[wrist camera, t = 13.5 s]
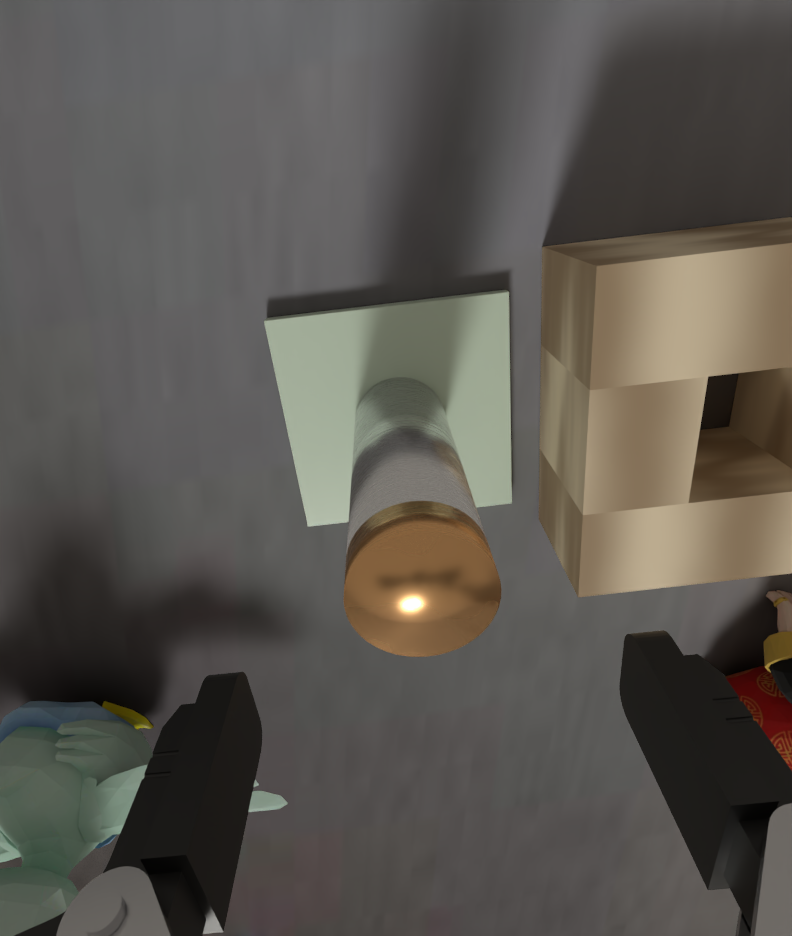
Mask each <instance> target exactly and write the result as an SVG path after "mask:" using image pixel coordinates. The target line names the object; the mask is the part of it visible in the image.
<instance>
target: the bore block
mask: <svg viewBox="0 0 792 936" xmlns="http://www.w3.org/2000/svg"><path fill="white" fill-rule="evenodd" d="M735 373H739V375H738V380H737V386H736V391H735V397H734V402H733V408H732V413H731V418H730V424H729V427H721V428H712V429H704V430H700V426H701V420H702V413H703V407H704V400H705V394H706V388H707V381H708V377H709V376H718V375H726V374H735ZM539 520H540V522H541V524H542V526H543V528H544V530H545V532H546V534H547V536H548V538H549V540H550V542H551V544H552V546H553V548H554V550H555V552H556V554H557V556H558V558H559V560H560V562H561V564H562V566H563V568H564V570H565V572H566V574H567V576H568V578H569V580H570V582H571V584H572V586H573V588H574V590H575V592H576V594H577V596H578V597H585V596H594V595H603V594H612V593H621V592H630V591H639V590H648V589H657V588H665V587H674V586H683V585H692V584H701V583H710V582H719V581H728V580H737V579H746V578H755V577H764V576H773V575H782V574H791V573H792V217H787V218H778V219H770V220H761V221H753V222H745V223H736V224H728V225H720V226H711V227H703V228H694V229H686V230H678V231H669V232H661V233H653V234H644V235H636V236H627V237H619V238H611V239H602V240H594V241H585V242H577V243H569V244H560V245H552V246H544V247H542V309H541V387H540V465H539Z"/></svg>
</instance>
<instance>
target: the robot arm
mask: <svg viewBox="0 0 792 936" xmlns="http://www.w3.org/2000/svg"><path fill="white" fill-rule="evenodd" d="M620 696H621V702H622V706H623V709H624V712H625V715H626V717H627V719H628V722H629V724H630V726H631V728H632V730H633V732H634V734H635V736H636V739H637V741H638V743H639V745H640V747H641V749H642V751H643V753H644V756H645V758H646V760H647V762H648V764H649V766H650V768H651V770H652V772H653V775H654V777H655V779H656V781H657V783H658V785H659V787H660V789H661V792H662V794H663V796H664V798H665V800H666V802H667V804H668V806H669V808H670V811H671V813H672V815H673V817H674V819H675V821H676V823H677V825H678V828H679V830H680V832H681V834H682V836H683V838H684V840H685V842H686V845H687V847H688V849H689V851H690V853H691V855H692V857H693V859H694V861H695V864H696V866H697V868H698V870H699V872H700V874H701V876H702V878H703V881H704V883H705V885H706V887H707V889H708V890H715V889H726V888H730V889H731V891H732V893H733V895H734V897H735V899H736V901H737V903H738V905H739V907H740V912H739V916H738V922H737V929H736V936H792V770H791V769H790V767H789V766H788V765H787V763H786V762H785V760H784V759H783V758H782V756H781V755H780V753H779V752H778V751H777V749H776V748H775V746H774V745H773V744H772V742H771V741H770V739H769V738H768V737H767V735H766V734H765V732H764V731H763V730H762V728H761V727H760V725H759V724H758V723H757V721H754V720H753V716H752V714H751V713H750V711H749V710H748V709H747V707H746V706H745V704H744V703H743V702H742V701H740V700H739V696H738V695H737V693H736V692H735V690H734V689H733V688H732V686H731V685H730V683H729V682H728V681H727V679H726V678H725V676H724V675H723V674H722V673H721V672H720V671H719V670H717V669H716V668H715V667H714V666H712V665H711V664H710V663H708V662H707V661H706V660H704V659H703V658H702V657H701V656H699V655H698V654H695V655H685V656H683V654H682V652H681V651H680V649H679V648H678V646H677V645H676V643H675V642H674V640H673V639H672V637H671V636H670V635H669V634H668V633H667V632H666V631H664V630H663V631H653V632H643V633H633V634H627V635H626V636H625V640H624V648H623V658H622V667H621V677H620ZM261 746H262V727H261V721H260V717H259V714H258V711H257V708H256V705H255V701H254V698H253V695H252V692H251V689H250V686H249V683H248V679H247V677H246V675H245V673H244V672H238V673H228V674H218V675H208V676H207V677H206V678H205V679H204V681H203V683H202V686H201V689H200V691H199V694H198V697H197V700H196V703H195V704H185V705H181V706H180V707H179V708H178V709H177V711H176V712H175V713H174V714H173V716H172V717H171V718H170V719H169V720H168V722H167V723H166V724H165V725H164V727H163V728H162V731H161V733H160V736H159V738H158V741H157V743H156V746H155V748H154V751H153V757H152V758H150V761H149V763H148V766H147V768H146V771H145V773H144V779H142V781H141V783H140V786H139V788H138V791H137V793H136V796H135V798H134V801H133V803H132V806H131V808H130V811H129V813H128V816H127V818H126V821H125V823H124V826H123V828H122V831H121V833H120V836H119V838H118V841H117V843H116V846H115V848H114V851H113V853H112V856H111V858H110V860H109V862H108V865H107V867H106V869H105V870H104V872H103V874H101V875H100V876H98V877H96V878H95V879H93V880H92V881H91V882H90V883H88V884H87V885H86V886H85V887H84V888H83V889H82V890H81V891H80V892H79V893H78V894H77V896H76V897H75V898H74V899H73V901H72V902H71V903H70V905H69V906H68V908H67V910H66V911H65V912H63V913H62V914H60V915H58V916H56V917H54V918H52V919H50V920H48V921H46V922H44V923H41V924H39V925H37V926H35V927H32V928H30V929H28V930H25V931H23V932H21V933H19V934H16V935H14V936H202V935H203V934H207V933H218V932H223V931H224V926H225V921H226V917H227V912H228V907H229V902H230V897H231V893H232V888H233V883H234V878H235V873H236V869H237V864H238V859H239V854H240V849H241V845H242V840H243V835H244V830H245V825H246V820H247V816H248V811H249V806H250V801H251V796H252V792H253V787H254V782H255V777H256V772H257V768H258V763H259V758H260V753H261Z"/></svg>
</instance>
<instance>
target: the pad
mask: <svg viewBox="0 0 792 936" xmlns="http://www.w3.org/2000/svg"><path fill="white" fill-rule="evenodd" d="M264 323H265V328H266V333H267V337H268V342H269V347H270V351H271V356H272V361H273V365H274V370H275V375H276V379H277V384H278V389H279V393H280V398H281V403H282V407H283V412H284V417H285V421H286V426H287V431H288V435H289V440H290V444H291V449H292V454H293V458H294V463H295V468H296V472H297V477H298V482H299V486H300V491H301V496H302V500H303V505H304V510H305V514H306V519H307V524H308V526H317V525H326V524H335V523H343V522H349V508H350V492H351V477H352V461H353V445H354V430H355V414H356V410H357V407H358V404H359V402H360V400H361V398H362V397H363V395H364V394H365V393H366V392H367V391H368V390H369V389H370V388H371V387H372V386H374V385H375V384H377V383H379V382H381V381H383V380H386V379H389V378H395V377H406V378H412V379H415V380H418V381H420V382H422V383H424V384H426V385H427V386H429V387H430V388H431V389H432V390H433V391H434V392H435V393H436V394H437V396H438V397H439V399H440V401H441V403H442V405H443V408H444V411H445V414H446V417H447V421H448V424H449V427H450V430H451V433H452V436H453V439H454V442H455V445H456V448H457V451H458V454H459V457H460V460H461V463H462V466H463V469H464V472H465V475H466V478H467V481H468V484H469V487H470V490H471V493H472V496H473V499H474V502H475V505H476V507H484V506H492V505H501V504H510V503H512V482H511V408H510V334H509V292H508V291H507V290H498V291H489V292H481V293H473V294H464V295H456V296H447V297H439V298H430V299H422V300H414V301H405V302H397V303H388V304H380V305H371V306H363V307H354V308H346V309H338V310H329V311H321V312H312V313H304V314H295V315H287V316H279V317H270V318H266V319H265V320H264Z"/></svg>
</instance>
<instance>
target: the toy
mask: <svg viewBox="0 0 792 936" xmlns="http://www.w3.org/2000/svg"><path fill="white" fill-rule="evenodd" d="M139 728H150V729H151V728H153V725H152V724H151V723H150V722H149V721H148V720H147V718H145V717H144V716H142V715H140V714H139V713H137V712H135V711H134V710H131V709H128V708H125V707H122V706H119V705H115V704H112V703H109V702H106V701H104V703H103V705H102V707H101V706H100V705H98V704H96V703H95V702H93V701H92V702H70V703H68V702H53V701H29V702H28V703H26V704H24V705H22V706H20V707H19V708H17V709H15V710H14V711H12V712H11V713H9V714H7V715H6V716H4V718H3V720H2V723H1V725H0V862H5V861H8V860H11V859H14V858H17V857H20V856H21V858H22V860H23V863H22V866H21V867H13V868H4V869H0V936H14V935H16V934H19V933H21V932H23V931H25V930H28V929H30V928H32V927H35V926H37V925H39V924H41V923H44V922H46V921H48V920H50V919H52V918H54V917H56V916H58V915H60V914H62V913H63V912H65V911H66V910H67V908H68V906H69V905H70V903H71V902H72V901H73V899H74V898H75V897H76V896H77V894H78V893H79V892H78V891H77V889H76V887H75V886H74V884H73V883H72V881H70V880H68V879H66V878H67V876H68V875H69V873H70V871H71V870H72V868H73V867H74V866H76V865H77V864H78V863H79V862H80V861H81V860H82V859H83V858H84V857H85V856H87V855H88V854H89V853H90V852H91V851H92V850H93V849H94V848H101V847H103V846H104V845H106V844H108V843H110V842H111V841H112V840H113V839H114V838H115V836H116V835H117V834H120V833H121V831H122V828H123V826H124V823H125V821H126V818H127V816H128V813H129V811H130V808H131V806H132V803H133V801H134V798H135V796H136V793H137V791H138V788H139V786H140V783H141V781H142V779H144V773H145V771H146V768H147V766H148V763H149V761H150V758H152V757H153V756H152V750H151V747H150V746H149V744H148V742H147V740H146V738H145V737H144V735H143V733H142V732H141V731H139V730H138V729H139ZM258 785H259V784H258V783H257V782H256V780H255V782H254V787H255V786H258ZM286 804H288V803H287V802H286V801H285V800H284V799H283V798H282V797H281V796H280V795H276V794H272V793H268V792H264V791H253V792H252V796H251V801H250V806H249V811H248V812H253V811H264V810H274V809H280V808H281V807H283V806H284V805H286Z"/></svg>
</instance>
